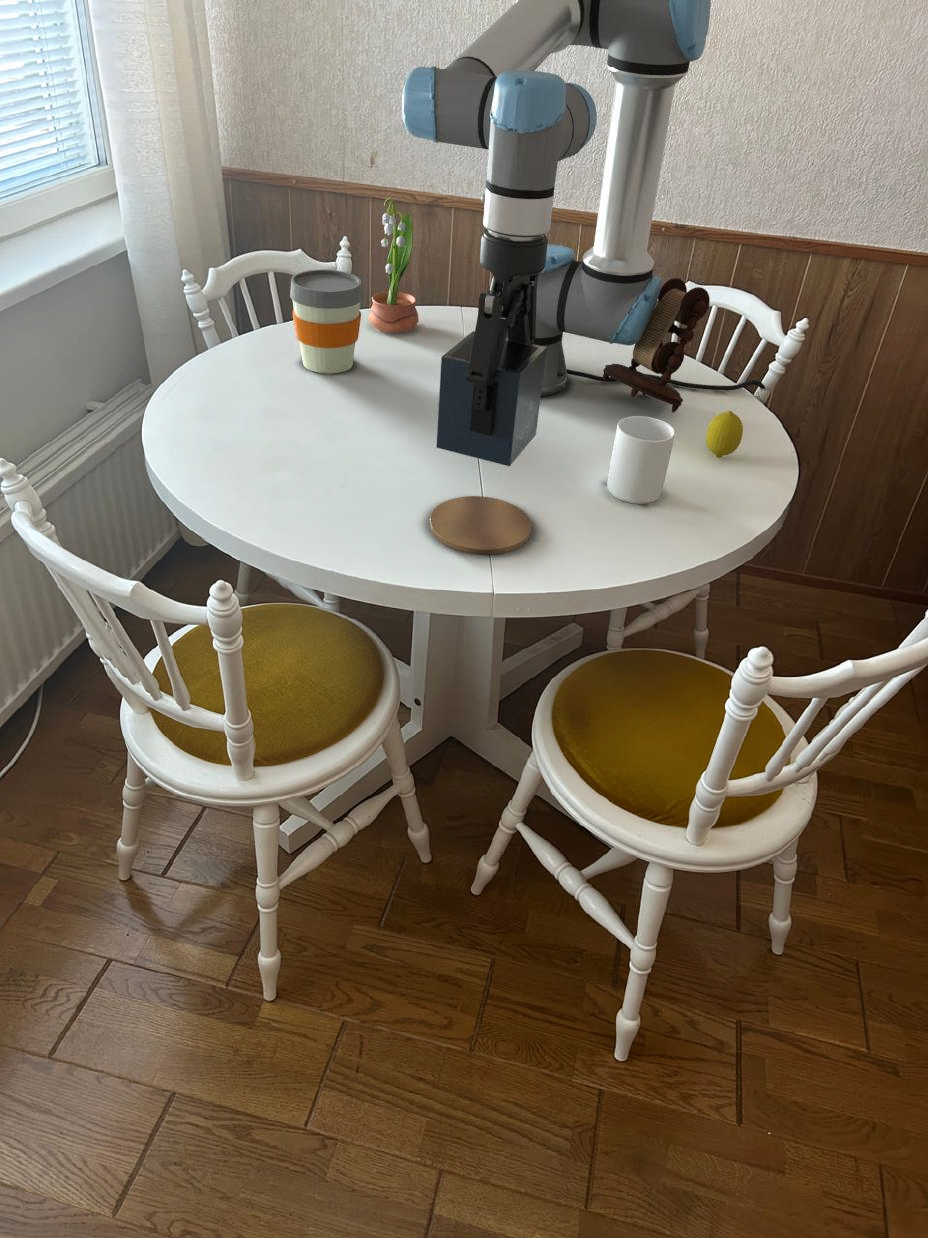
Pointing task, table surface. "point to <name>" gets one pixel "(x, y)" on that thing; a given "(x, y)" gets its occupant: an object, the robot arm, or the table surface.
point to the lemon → (724, 434)
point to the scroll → (650, 346)
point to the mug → (640, 459)
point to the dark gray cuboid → (512, 407)
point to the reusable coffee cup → (326, 318)
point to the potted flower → (395, 279)
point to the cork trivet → (480, 525)
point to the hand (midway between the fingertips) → (496, 415)
